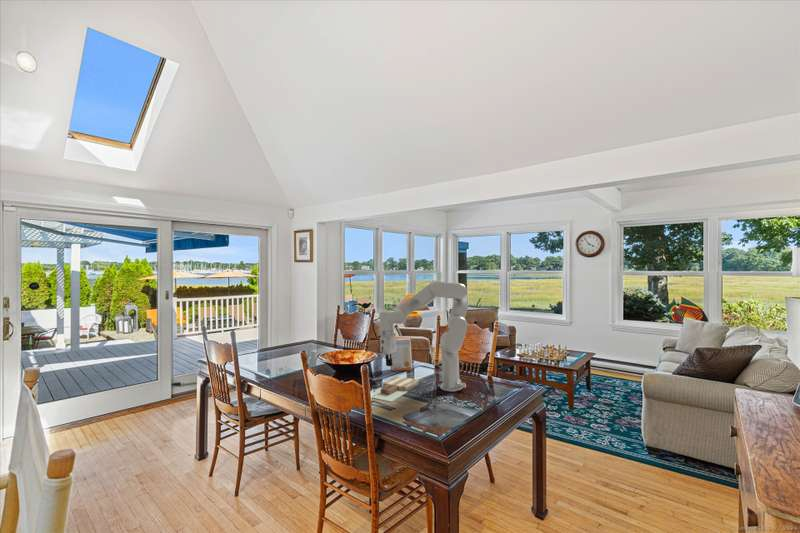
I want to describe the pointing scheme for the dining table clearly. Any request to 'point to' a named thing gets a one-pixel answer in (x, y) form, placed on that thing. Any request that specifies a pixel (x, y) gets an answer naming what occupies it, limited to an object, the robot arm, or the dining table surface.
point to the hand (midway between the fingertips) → (389, 365)
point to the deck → (402, 383)
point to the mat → (387, 397)
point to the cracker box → (402, 355)
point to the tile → (389, 389)
